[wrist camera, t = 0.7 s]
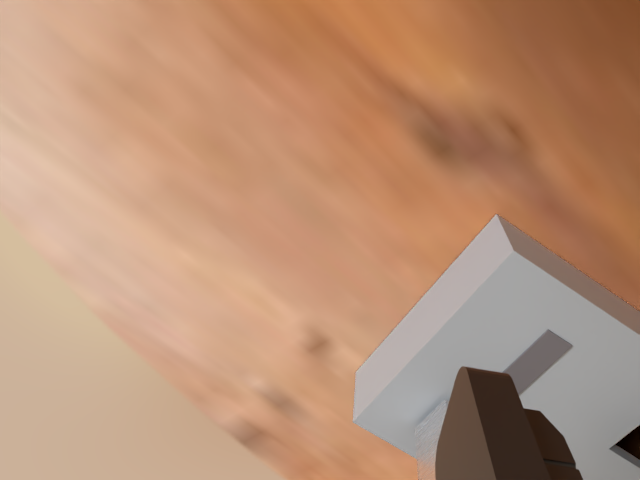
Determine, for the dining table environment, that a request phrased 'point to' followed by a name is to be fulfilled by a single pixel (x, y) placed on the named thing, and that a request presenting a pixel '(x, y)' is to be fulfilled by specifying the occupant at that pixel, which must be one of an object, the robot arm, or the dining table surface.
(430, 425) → the slider
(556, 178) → the dining table surface
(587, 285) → the console
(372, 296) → the dining table surface
